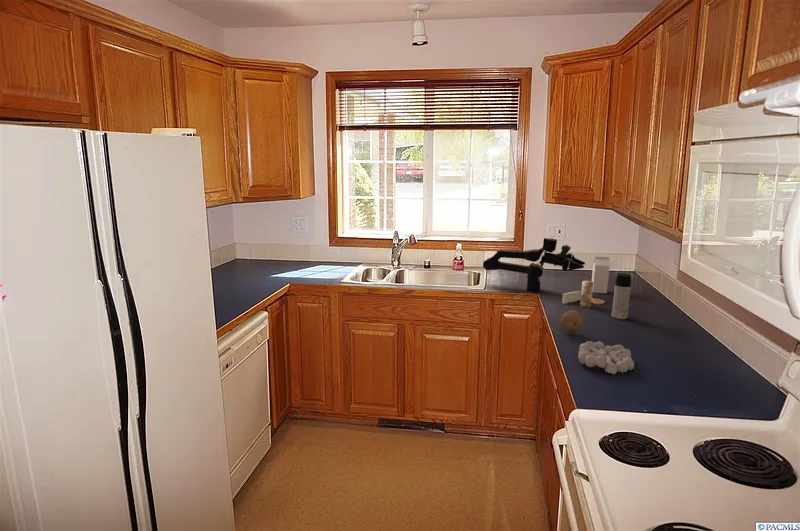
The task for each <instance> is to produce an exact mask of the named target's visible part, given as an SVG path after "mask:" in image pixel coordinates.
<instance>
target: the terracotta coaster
mask: <svg viewBox="0 0 800 531" xmlns="http://www.w3.org/2000/svg"><path fill="white" fill-rule="evenodd" d="M591 303H593V304H592V305H604V304H605V303H606V300H603V299H601V298H595V297H592V301H591ZM603 303H604V304H603Z"/></svg>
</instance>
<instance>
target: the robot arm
mask: <svg viewBox="0 0 800 531" xmlns="http://www.w3.org/2000/svg"><path fill="white" fill-rule="evenodd" d="M557 244H558V239H555V238H546V237H544V238H543V244H542V247H541V248H538V249H537V248H535V249H528V250H510V249H509V250H507V249H499V250H497V251H496V253H495V254H494V255H493V256H492V257H488V258H487V259H485V260H484V261H483V263H482V266H483V268H484V270H485V271H498V270H502V271H507V272H514V273H521V274H526V276H527V277H526V278H527V282H526V289H525V290H526V292H528V291H529V292H540V290H541V281H540V280H541V277H542V276H543V274H544V273H545V268H544V267H543V266H544V264H549V265H553V266H554V267H555V266H558V267H561V270H562V271H563V272H570V271H574V270H579V269H584V268H585V265H586V262H585V261H583V260H581V259H579V258H577V257H575V255H574V254H573V253H572V252H569V251H570V250H571V249H572V247H571V246H569V245H568V244H565V245H562V246H561V248H560V249H561V251H560V253H559V252H558V253H554V252H556V249H557ZM542 254H543V255H542ZM500 259H522V260H526V261H528V262H531V263H530V264H529V265H525V264H518V263H510V262H506V261H505V262H504V261H500ZM535 262H538V263H535Z"/></svg>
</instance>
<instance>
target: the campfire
mask: <svg viewBox="0 0 800 531" xmlns="http://www.w3.org/2000/svg"><path fill="white" fill-rule="evenodd" d="M578 349H579V351H578V352H577V353H578V355H577V358H578V361H579V363H581V364H583V365H586V366H587V367H588V368H594V367H596V366H597V367H599V368H602V369H604V371H605V372H606V373H607V372H608V373H607V374H609V373H611V374H610V375H616V374H617V373H619V372H622V373H621V374H624V373H623V372H625V373H626V372H628V371H632V369H633V370H634V368H635V361H634V360H633V358H632V352H631V350H630V349H629V348H625V347H624V346H623V345H622V344H616V345H615V344H614V345H605V343H603V342H602V341H596V342H593V341H591V340H590V341H589V340H588V341H586V342H584V343H580V345H579V348H578ZM617 371H618V372H617Z"/></svg>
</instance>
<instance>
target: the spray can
mask: <svg viewBox="0 0 800 531" xmlns="http://www.w3.org/2000/svg"><path fill="white" fill-rule="evenodd" d="M631 287H632V275H631V274H629V273H626V272H625V273H624V272H618V273H617V275H616V278H615V283H614V290H613V301H612V308H611V317H612V318H614V319H618V320H625V319H627V318H628V315H629V307H630V306H629V305H630V298H631Z"/></svg>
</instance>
